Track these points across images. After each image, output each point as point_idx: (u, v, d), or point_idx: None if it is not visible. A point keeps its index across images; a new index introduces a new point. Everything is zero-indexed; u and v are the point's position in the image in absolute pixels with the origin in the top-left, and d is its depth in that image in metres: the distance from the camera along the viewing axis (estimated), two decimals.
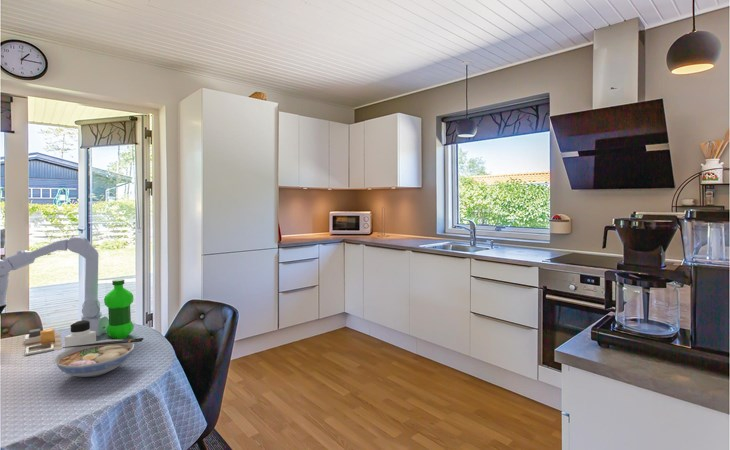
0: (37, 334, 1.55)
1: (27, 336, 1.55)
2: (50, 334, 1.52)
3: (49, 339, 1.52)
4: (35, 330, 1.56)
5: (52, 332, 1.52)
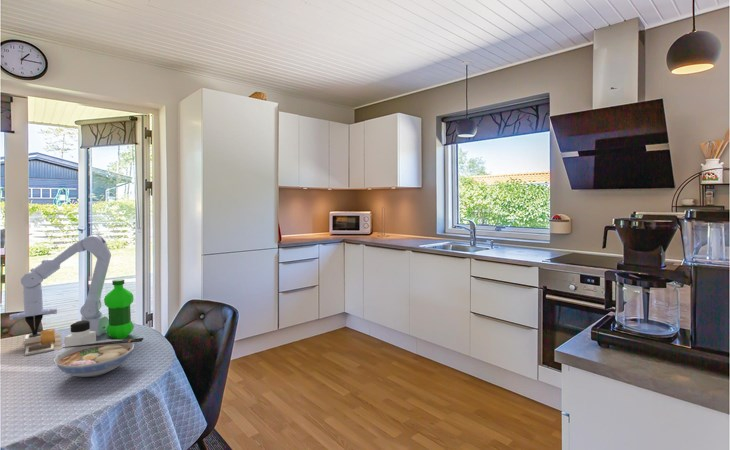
0: None
1: (27, 336, 1.55)
2: (50, 334, 1.52)
3: (49, 339, 1.52)
4: None
5: (52, 332, 1.52)
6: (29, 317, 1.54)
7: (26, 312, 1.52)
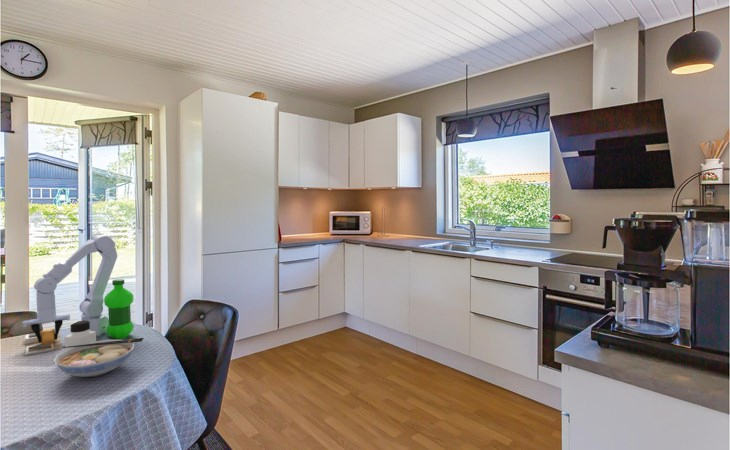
0: None
1: (27, 336, 1.55)
2: (50, 334, 1.52)
3: (49, 339, 1.52)
4: (35, 334, 1.56)
5: (52, 332, 1.52)
6: None
7: (39, 319, 1.50)
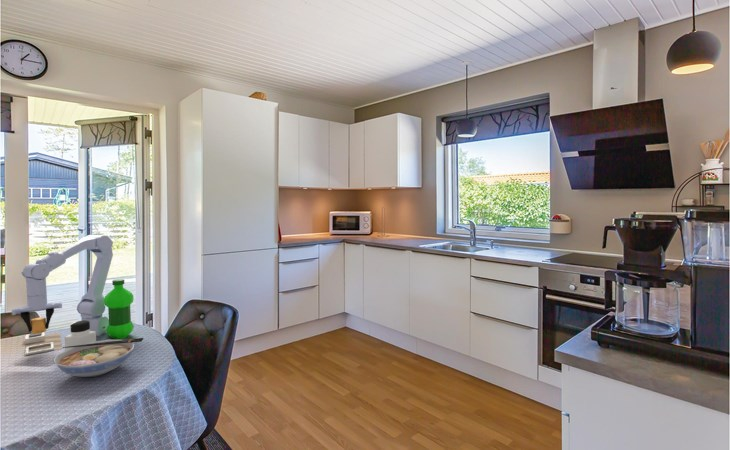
0: None
1: (27, 336, 1.55)
2: (40, 323, 1.44)
3: (39, 328, 1.44)
4: (35, 334, 1.56)
5: (42, 320, 1.45)
6: None
7: (29, 306, 1.42)
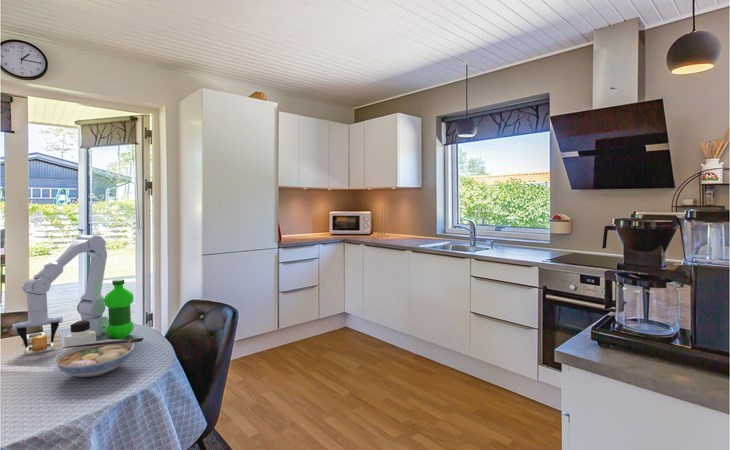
0: None
1: (27, 336, 1.55)
2: (41, 341, 1.45)
3: (41, 346, 1.45)
4: (35, 334, 1.56)
5: (43, 338, 1.45)
6: (33, 326, 1.44)
7: (30, 321, 1.43)
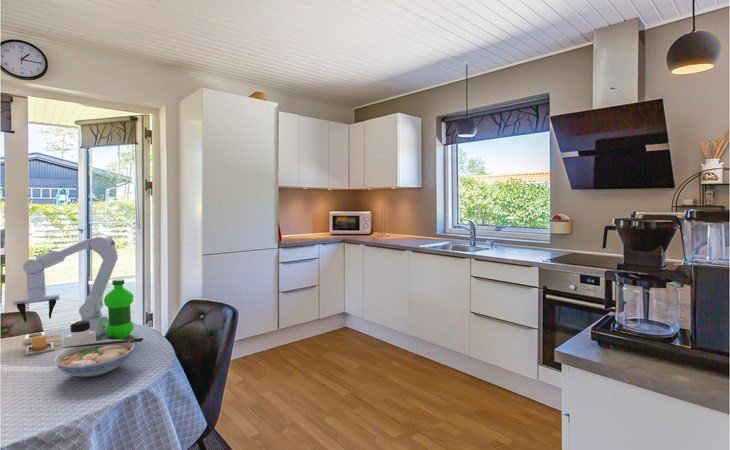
0: None
1: (27, 336, 1.55)
2: (41, 341, 1.45)
3: (41, 346, 1.45)
4: (35, 334, 1.56)
5: (43, 338, 1.46)
6: None
7: (29, 298, 1.54)
